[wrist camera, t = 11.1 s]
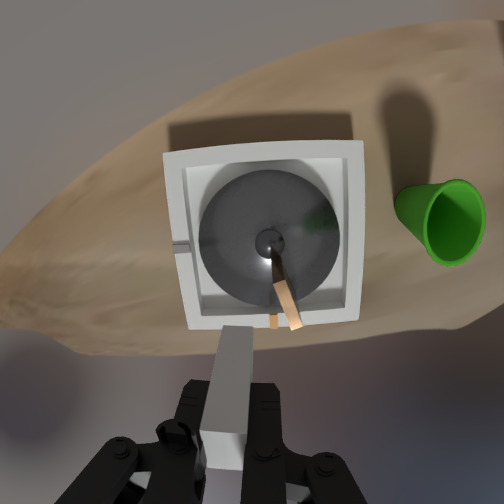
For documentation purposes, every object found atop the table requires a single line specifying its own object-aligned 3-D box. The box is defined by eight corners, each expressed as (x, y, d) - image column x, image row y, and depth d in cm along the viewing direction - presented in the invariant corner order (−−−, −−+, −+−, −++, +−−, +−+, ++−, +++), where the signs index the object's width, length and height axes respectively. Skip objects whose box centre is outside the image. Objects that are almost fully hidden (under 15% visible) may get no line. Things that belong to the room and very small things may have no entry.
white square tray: (353, 142, 31) (364, 140, 28) (351, 307, 38) (359, 321, 34) (171, 153, 33) (161, 153, 29) (194, 316, 39) (188, 331, 36)
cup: (368, 215, 34) (407, 238, 24) (403, 157, 32) (452, 160, 21) (413, 250, 35) (457, 281, 25) (446, 197, 33) (496, 213, 22)
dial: (180, 201, 33) (155, 214, 25) (310, 149, 30) (325, 146, 23) (233, 315, 37) (226, 354, 29) (351, 274, 35) (372, 304, 27)
